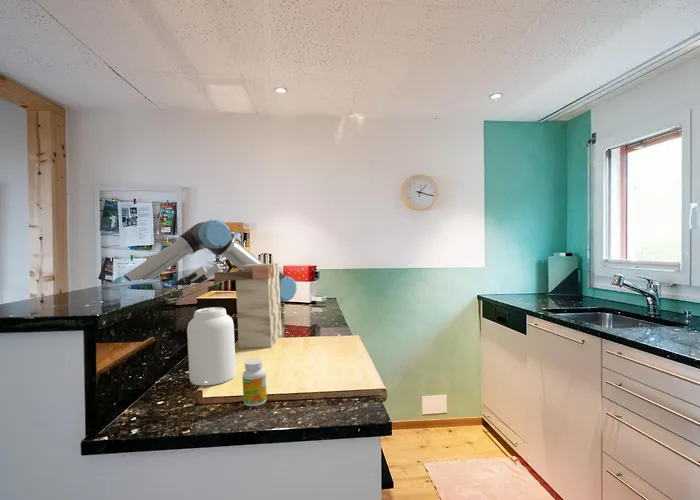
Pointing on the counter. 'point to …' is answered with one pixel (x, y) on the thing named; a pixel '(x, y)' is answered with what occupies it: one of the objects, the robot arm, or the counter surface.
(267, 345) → the stand
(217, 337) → the white jar
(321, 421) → the counter surface
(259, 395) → the supplement bottle
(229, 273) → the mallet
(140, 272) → the robot arm
